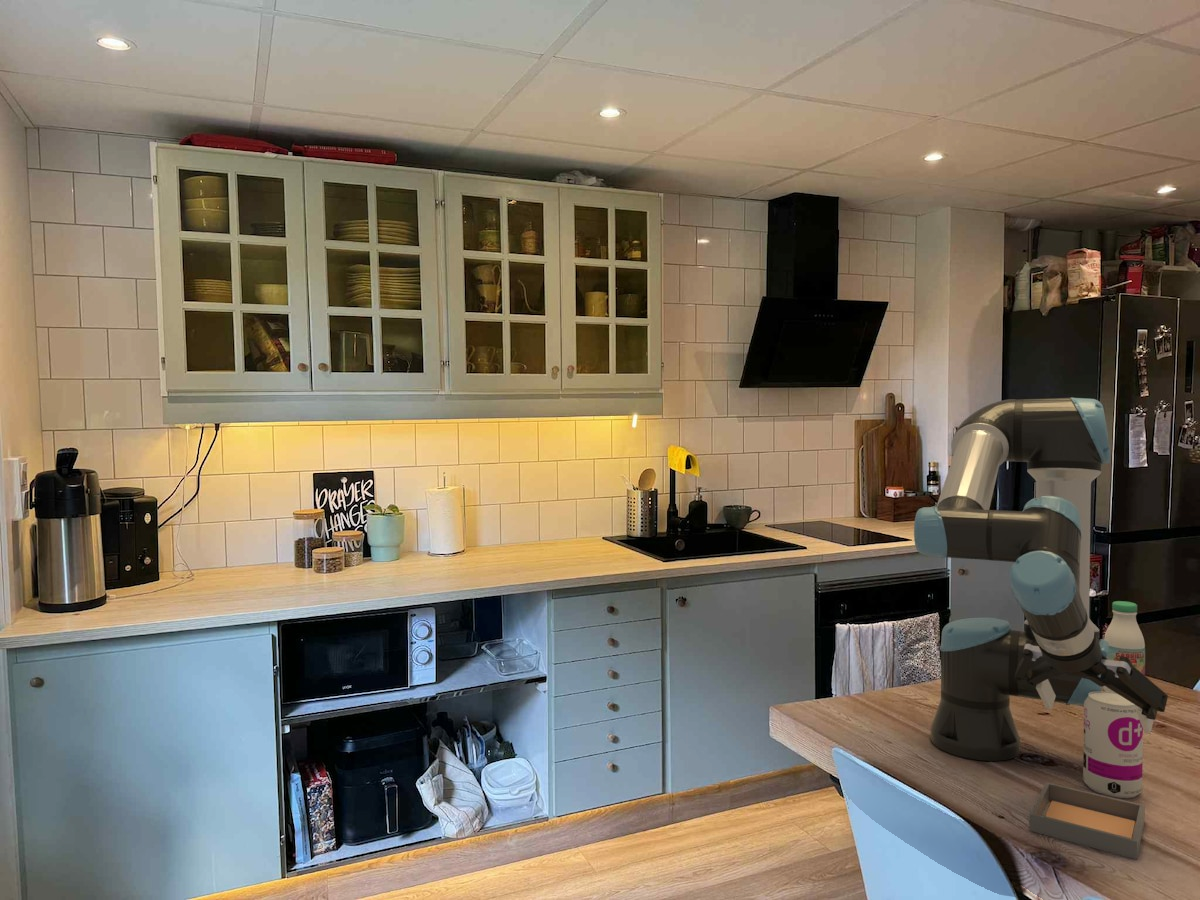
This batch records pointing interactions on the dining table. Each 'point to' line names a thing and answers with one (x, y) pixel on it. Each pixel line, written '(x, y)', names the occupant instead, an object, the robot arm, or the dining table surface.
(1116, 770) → the supplement can
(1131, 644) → the milk bottle
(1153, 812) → the dining table surface
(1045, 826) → the tray
